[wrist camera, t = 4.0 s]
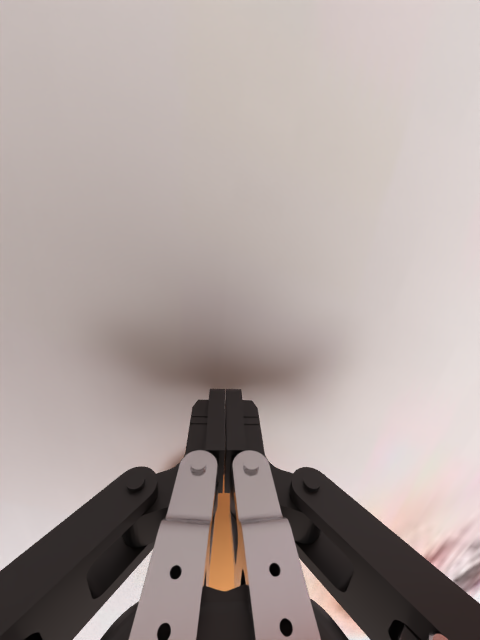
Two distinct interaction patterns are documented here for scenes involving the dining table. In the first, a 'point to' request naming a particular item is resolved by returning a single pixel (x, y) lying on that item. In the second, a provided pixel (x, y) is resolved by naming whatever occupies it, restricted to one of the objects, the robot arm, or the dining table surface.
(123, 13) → the dining table surface
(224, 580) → the ball
